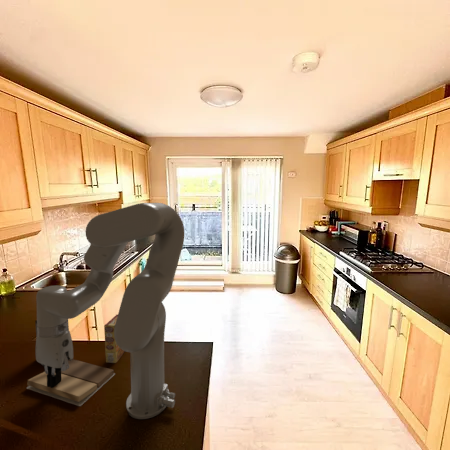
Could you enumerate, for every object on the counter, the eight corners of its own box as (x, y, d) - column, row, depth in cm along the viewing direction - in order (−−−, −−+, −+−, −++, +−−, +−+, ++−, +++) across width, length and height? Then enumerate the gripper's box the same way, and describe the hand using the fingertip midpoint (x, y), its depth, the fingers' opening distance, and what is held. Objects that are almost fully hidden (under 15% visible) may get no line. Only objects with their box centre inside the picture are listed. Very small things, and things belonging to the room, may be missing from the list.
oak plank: (96, 389, 76) (97, 384, 76) (78, 401, 70) (79, 396, 70) (47, 374, 82) (48, 369, 82) (27, 385, 76) (27, 380, 76)
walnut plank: (113, 374, 83) (113, 369, 82) (98, 387, 76) (98, 383, 76) (67, 361, 89) (67, 357, 89) (49, 373, 83) (49, 369, 82)
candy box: (116, 365, 88) (115, 325, 87) (105, 364, 89) (103, 325, 87) (127, 350, 97) (126, 314, 96) (117, 350, 98) (116, 314, 96)
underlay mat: (115, 376, 83) (115, 373, 83) (80, 409, 70) (80, 406, 69) (67, 363, 89) (67, 360, 89) (26, 391, 76) (26, 388, 76)
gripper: (83, 326, 74) (83, 381, 76) (46, 317, 78) (48, 370, 80) (60, 339, 67) (61, 400, 69) (21, 328, 71) (23, 386, 73)
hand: (54, 384), depth 74 cm, fingers closed
